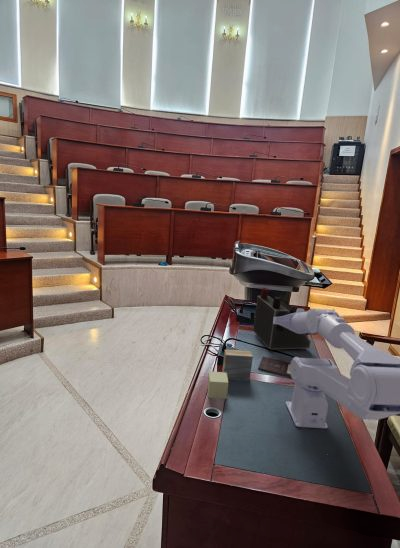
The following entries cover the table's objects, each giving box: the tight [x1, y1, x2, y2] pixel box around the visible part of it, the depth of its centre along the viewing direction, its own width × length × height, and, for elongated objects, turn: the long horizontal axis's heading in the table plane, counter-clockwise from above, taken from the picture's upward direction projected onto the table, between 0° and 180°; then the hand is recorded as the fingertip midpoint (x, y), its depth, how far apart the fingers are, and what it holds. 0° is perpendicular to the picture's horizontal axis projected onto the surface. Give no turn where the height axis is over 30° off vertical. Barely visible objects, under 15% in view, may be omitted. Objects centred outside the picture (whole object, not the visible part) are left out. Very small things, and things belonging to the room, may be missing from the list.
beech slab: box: [222, 349, 254, 382], centre depth 99 cm, size 4×8×8 cm, turn 92°
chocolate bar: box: [257, 356, 292, 379], centre depth 107 cm, size 9×1×18 cm
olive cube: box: [206, 371, 229, 400], centre depth 90 cm, size 5×5×5 cm
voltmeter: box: [252, 287, 312, 351], centre depth 125 cm, size 16×16×20 cm
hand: (288, 323), depth 101 cm, fingers open, 7 cm apart
